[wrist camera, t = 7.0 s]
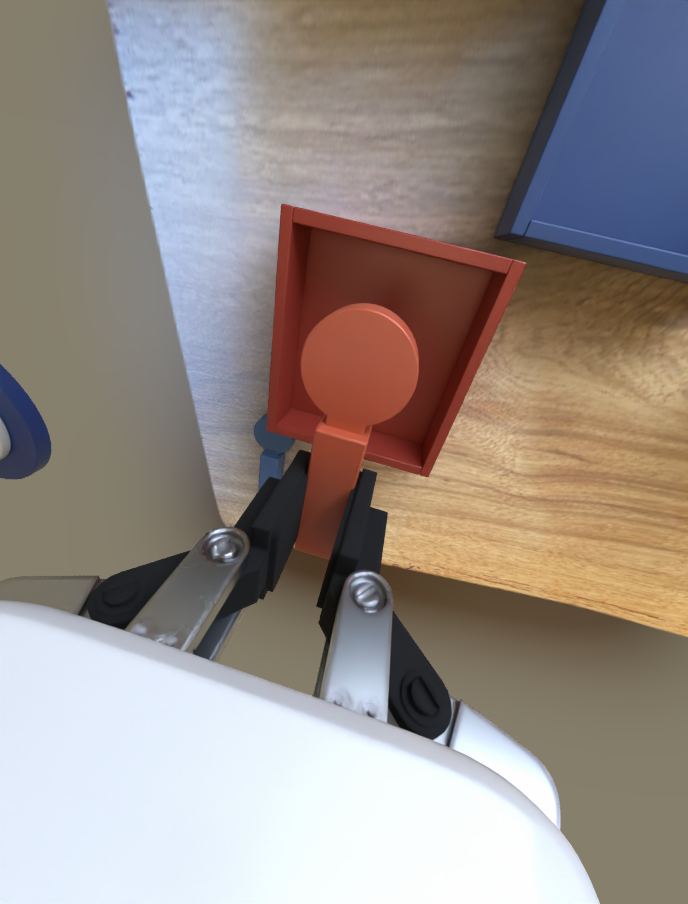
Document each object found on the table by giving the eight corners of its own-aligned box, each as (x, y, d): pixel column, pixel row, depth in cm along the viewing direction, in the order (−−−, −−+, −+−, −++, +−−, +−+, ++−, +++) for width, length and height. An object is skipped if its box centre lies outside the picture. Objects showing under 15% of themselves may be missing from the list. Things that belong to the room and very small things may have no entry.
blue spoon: (288, 501, 29) (282, 512, 28) (255, 492, 29) (249, 501, 28) (299, 418, 24) (292, 426, 23) (260, 407, 24) (251, 415, 23)
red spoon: (358, 540, 13) (352, 567, 12) (286, 518, 13) (274, 543, 12) (435, 319, 8) (439, 330, 7) (319, 289, 8) (303, 294, 7)
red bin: (284, 409, 24) (265, 431, 21) (304, 212, 17) (280, 203, 14) (427, 450, 23) (428, 477, 20) (508, 261, 16) (527, 262, 13)
